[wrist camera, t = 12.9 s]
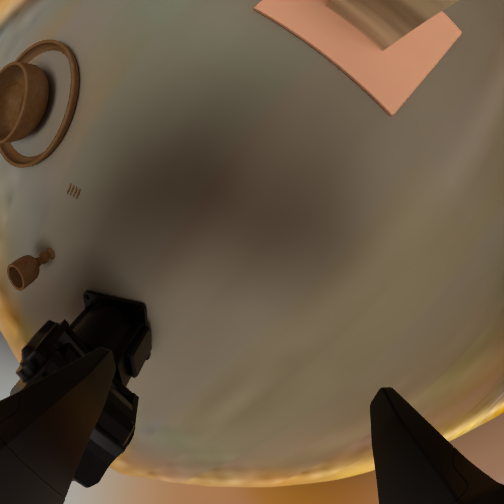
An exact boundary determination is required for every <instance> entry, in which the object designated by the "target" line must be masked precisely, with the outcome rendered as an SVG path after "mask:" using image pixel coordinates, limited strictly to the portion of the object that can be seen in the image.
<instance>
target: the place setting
mask: <svg viewBox="0 0 504 504" xmlns="http://www.w3.org/2000/svg"><path fill="white" fill-rule="evenodd" d="M50 50H56V51H60V52H62V53H63V54H65V55H66V56H67V57H68V60H69V64H70V70H71V88H70V95H69V101H68V105H67V109H66V112H65V115H64V119H63V121H62V124H61V126H60V128H59V130H58V132H57V134H56V136H55V138H54V140H53V141H52V143H51V144H50V146H49V147H48V148H47V150H46V151H45V152H43V153H41V154H39V155H37V156H33V157H26V156H23V155H21V154H19V153H18V152H17V151H16V150H15V149H14V148H13V146H12V145H11V143H10V142H13V141H17V140H20V139H23V138H24V137H26V136H28V135H29V134H30V133H31V132H32V131H33V130H34V129H35V128H36V127H37V125H38V124H39V122H40V120H41V118H42V116H43V114H44V112H45V109H46V107H47V103H48V93H49V87H48V80H47V77H46V75H45V73H44V72H43V70H42V69H40V68H39V67H37V66H35V65H32V64H28V62H29V61H31V60H32V59H33V58H34V57H36V56H37V55H39V54H41V53H43V52H46V51H50ZM78 90H79V72H78V66H77V62H76V59H75V57H74V55H73V53H72V52H71V50H70V49H69V48H68V47H67V46H66V45H65V44H63V43H61V42H59V41H56V40H43V41H40V42H37V43H36V44H34V45H32V46H30V47H29V48H28V49H26V50H25V51H24V52H23V53H22V54H21V55H20V56H19V57H18V58H17V59H16V61H15V62H12V63H9V64H8V65H6V66H5V67H4V68H3V69H2V70H1V71H0V153H1V154H2V156H3V157H4V159H5V160H6V161H7V162H8V163H10V164H11V165H13V166H15V167H19V168H25V167H30V166H33V165H35V164H37V163H39V162H41V161H42V160H44V159H45V158H46V157H47V156H48V155H50V154H51V152H52V151H53V150H54V149H55V148H56V147H57V145H58V144H59V143H60V141H61V139H62V138H63V136H64V134H65V132H66V130H67V128H68V127H69V124H70V122H71V119H72V116H73V113H74V110H75V106H76V102H77V97H78ZM70 187H71V184H70V186H69V189H68V191H67V194H68V192H69V190H70ZM73 189H74V185H73V188H72V190H71V193H72V191H73ZM76 191H77V187H76V189H75V192H74V195H75V193H76ZM71 193H70V195H71ZM79 193H80V189H79V191H78V194H77V197H78V195H79ZM74 195H73V197H74ZM77 197H76V199H77ZM50 258H51V259H54V258H55V253H54V251H53V249H52V248H48V249H47V252H42V253H41V254H40V255H39V257H38V258H34V257H32V256H30V255H26V256H23V257H21V258H19V259H17V260H16V261H14V262H13V263H11V264H10V265H9V266H8V268H7V273H8V277H9V280H10V282H11V283H12V285H13V286H14V287H15V288H16V289H17V290H20V291H21V290H23V289H25V288H26V287H27V286H28V285H30V284H31V283H32V282H33V281H34V280H35V279H36V278H37V277H38V275H39V266H40V265H41V264H45V263H47V262H48V261H49V259H50Z"/></svg>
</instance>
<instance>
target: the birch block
mask: <svg viewBox="0 0 504 504" xmlns="http://www.w3.org/2000/svg"><path fill="white" fill-rule="evenodd" d="M458 1H459V0H329V1H328V3H327V6H326V7H328V8H329V9H331V10H332V11H333V12H335V13H336V14H338V15H339V16H340V17H342V18H343V19H344V20H346V21H347V22H348V23H350V24H351V25H352V26H354V27H355V28H356V29H357V30H359V31H360V32H361V33H362V34H364V35H365V36H366V37H367V38H368V39H370V40H371V41H372V42H373V43H374V44H375V45H377V46H378V47H379V48H380V49H381V50H382V51H384V50H385V49H386V48H388V47H389V46H391V45H392V44H393V43H395V42H396V41H398V40H399V39H400V38H402V37H403V36H405V35H406V34H408V33H409V32H411V31H412V30H413V29H415V28H416V27H418V26H419V25H421V24H422V23H424V22H425V21H427V20H428V19H430V18H432V17H433V16H435V15H436V14H438V13H439V12H441V11H443V10H444V9H446V8H448V7H449V6H451V5H452V4H454V3H456V2H458Z"/></svg>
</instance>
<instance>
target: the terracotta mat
mask: <svg viewBox="0 0 504 504" xmlns="http://www.w3.org/2000/svg"><path fill="white" fill-rule="evenodd" d="M328 1H329V0H262V1H261V2H260V3H259V4H258V5H257V6H256V7H254V10H255V11H257V12H259V13H260V14H262V15H264V16H266V17H267V18H269V19H271V20H272V21H274V22H276V23H277V24H279V25H280V26H282V27H283V28H285V29H287V30H288V31H290V32H291V33H293V34H294V35H296V36H297V37H298V38H300V39H301V40H303V41H304V42H306V43H307V44H308V45H310V46H311V47H313V48H314V49H315V50H317V51H318V52H319V53H321V54H322V55H323V56H324V57H326V58H327V59H328V60H330V61H331V62H332V63H333V64H335V65H336V66H337V67H338V68H339V69H341V70H342V71H343V72H344V73H345V74H347V75H348V76H349V77H350V78H351V79H352V80H353V81H355V82H356V83H357V84H358V85H359V86H360V87H361V88H362V89H363V90H364V91H366V92H367V93H368V94H369V95H370V96H371V97H372V98H373V99H374V100H375V101H376V102H377V103H378V104H379V105H380V106H381V107H382V108H383V109H384V110H385V111H386V112H387V113H388V114H389V115H390V116H393V115H394V114H395V112H396V111H397V110H398V109H399V108H400V107H401V105H402V104H403V103H404V102H405V101H406V99H407V98H408V97H409V96H410V95H411V94H412V92H413V91H414V90H415V89H416V88H417V86H418V85H419V84H420V83H421V82H422V81H423V79H424V78H425V77H426V76H427V75H428V73H429V72H430V71H431V70H432V69H433V67H434V66H435V65H436V64H437V63H438V61H439V60H440V59H441V58H442V57H443V55H444V54H445V53H446V52H447V51H448V49H449V48H450V47H451V46H452V44H453V43H454V42H455V41H456V40H457V38H458V37H459V36H460V35H461V33H462V32H461V31H460V30H459V28H458V27H457V26H456V25H455V24H454V23H453V22H452V21H451V20H450V19H449V18H448V17H447V16H446V15H445V14H444V13H443V12H442V11H441V12H439V13H438V14H436V15H435V16H433V17H432V18H430V19H428V20H427V21H425V22H424V23H422V24H421V25H419V26H418V27H416V28H415V29H413V30H412V31H411V32H409V33H408V34H406V35H405V36H403V37H402V38H400V39H399V40H398V41H396V42H395V43H393V44H392V45H391V46H389V47H388V48H386V49H385V50H384V51H382V50H381V49H380V48H379V47H378V46H377V45H375V44H374V43H373V42H372V41H371V40H370V39H368V38H367V37H366V36H365V35H364V34H362V33H361V32H360V31H359V30H357V29H356V28H355V27H354V26H352V25H351V24H350V23H348V22H347V21H346V20H344V19H343V18H342V17H340V16H339V15H338V14H336V13H335V12H333V11H332V10H331V9H329V8H328V7H326V6H327V3H328Z"/></svg>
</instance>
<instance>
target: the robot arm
mask: <svg viewBox="0 0 504 504" xmlns="http://www.w3.org/2000/svg"><path fill="white" fill-rule="evenodd" d="M88 296H89V297H88ZM83 297H84V303H85V309H84V311H83V312H82V313H81V314H80V315H79V316H78V317H77V318H76V319H75V320H74V321H73V322H72V324H71V325H70V326H69V324H68V322H67V321H66V320H63V321H62V322H61V323H59V324H58V323H57V322H56V323H55V322H53V321H51V320H49V321H47V322H46V323H45V324H44V325H43V326H42V327H41V328H40V329H39V330H38V332H37V333H36V334H35V335H34V336H33V337H32V338H31V339H30V341H29V342H28V343H27V344H26V345H25V347H24V348H23V349H22V360H21V362H20V366H19V368H18V370H17V371H16V374H17V375H18V376H19V377H20V378H21V379H20V380H19V381H18V382H17V384H16V385H15V386H14V387H13V388H12V390H11V393H10V396H9V397H7V398H5V399H3V400H1V401H0V504H63V503H64V501H65V497H66V495H67V492H68V489H69V487H70V484H71V482H72V481H76V482H78V483H79V484H81V485H82V486H84V487H86V488H88V487H91V486H93V485H95V484H97V483H98V482H99V481H100V480H101V478H102V476H103V475H104V473H105V471H106V470H107V468H108V467H109V465H110V464H111V463H112V462H113V461H114V460H115V459H116V457H118V456H119V455H120V454H121V453H123V452H124V451H125V449H126V447H127V446H128V445H129V443H130V441H131V440H132V437H133V435H134V431H135V422H136V414H137V407H138V399H139V397H138V396H137V395H136V394H134V393H132V392H131V391H130V390H129V389H128V388H127V387H126V386H127V384H128V382H129V380H130V378H131V377H133V378H135V377H137V376H138V374H139V372H140V370H141V368H142V366H143V364H144V362H145V360H148V359H149V358H150V351H151V348H152V347H151V337H150V328H149V327H148V326H147V315H146V307H145V305H143V304H142V303H139V302H134V301H130V300H125V299H121V298H117V297H113V296H109V295H105V294H101V293H97V292H93V291H89V290H87V291H86V292H85V293H84V294H83ZM139 308H140V309H141V310H140V309H139ZM370 417H371V438H372V449H373V456H374V463H375V471H376V479H377V487H378V497H379V504H504V485H503V484H500V483H498V482H496V481H495V480H493V479H492V478H490V477H489V476H488V475H487V474H485V473H484V472H482V471H481V470H480V469H479V468H477V467H476V466H475V465H474V464H472V463H471V462H470V461H469V460H467V459H466V458H465V457H464V456H463V455H462V454H461V453H460V452H459V451H458V450H457V449H456V448H455V447H453V446H452V445H451V444H450V443H449V442H448V441H447V440H446V439H445V438H444V437H443V436H442V435H441V434H440V433H439V432H438V431H437V430H436V429H435V428H434V427H433V426H432V425H431V424H430V423H428V422H427V421H426V420H425V419H424V418H423V417H422V416H421V415H420V414H419V413H418V412H417V411H416V410H415V409H414V408H413V407H412V406H411V405H410V404H409V403H408V402H407V401H406V400H405V399H403V398H402V397H401V396H400V395H399V394H398V393H397V392H396V391H395V390H394V389H393V388H391V387H383V388H381V389H379V391H378V392H377V394H376V395H375V397H374V399H373V400H372V402H371V404H370Z"/></svg>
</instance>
